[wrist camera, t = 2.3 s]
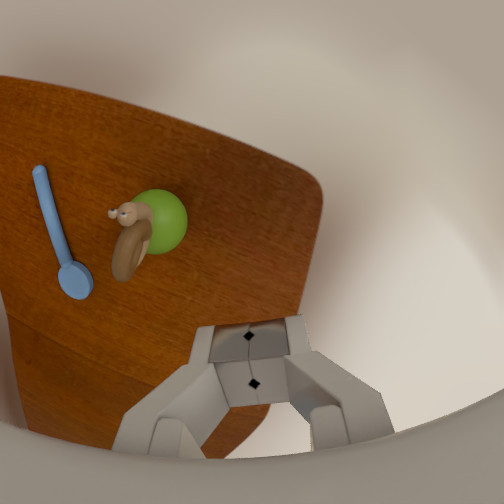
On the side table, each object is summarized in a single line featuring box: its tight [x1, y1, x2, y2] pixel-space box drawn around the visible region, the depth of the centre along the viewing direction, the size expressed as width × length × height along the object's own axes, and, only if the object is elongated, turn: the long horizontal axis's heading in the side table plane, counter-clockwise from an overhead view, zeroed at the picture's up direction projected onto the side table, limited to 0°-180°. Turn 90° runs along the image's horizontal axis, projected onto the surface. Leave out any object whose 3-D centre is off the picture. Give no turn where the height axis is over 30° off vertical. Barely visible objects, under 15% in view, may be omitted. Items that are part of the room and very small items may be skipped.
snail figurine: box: [108, 189, 187, 282], centre depth 21 cm, size 5×6×12 cm
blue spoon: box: [32, 165, 93, 299], centre depth 27 cm, size 16×4×2 cm, turn 9°
